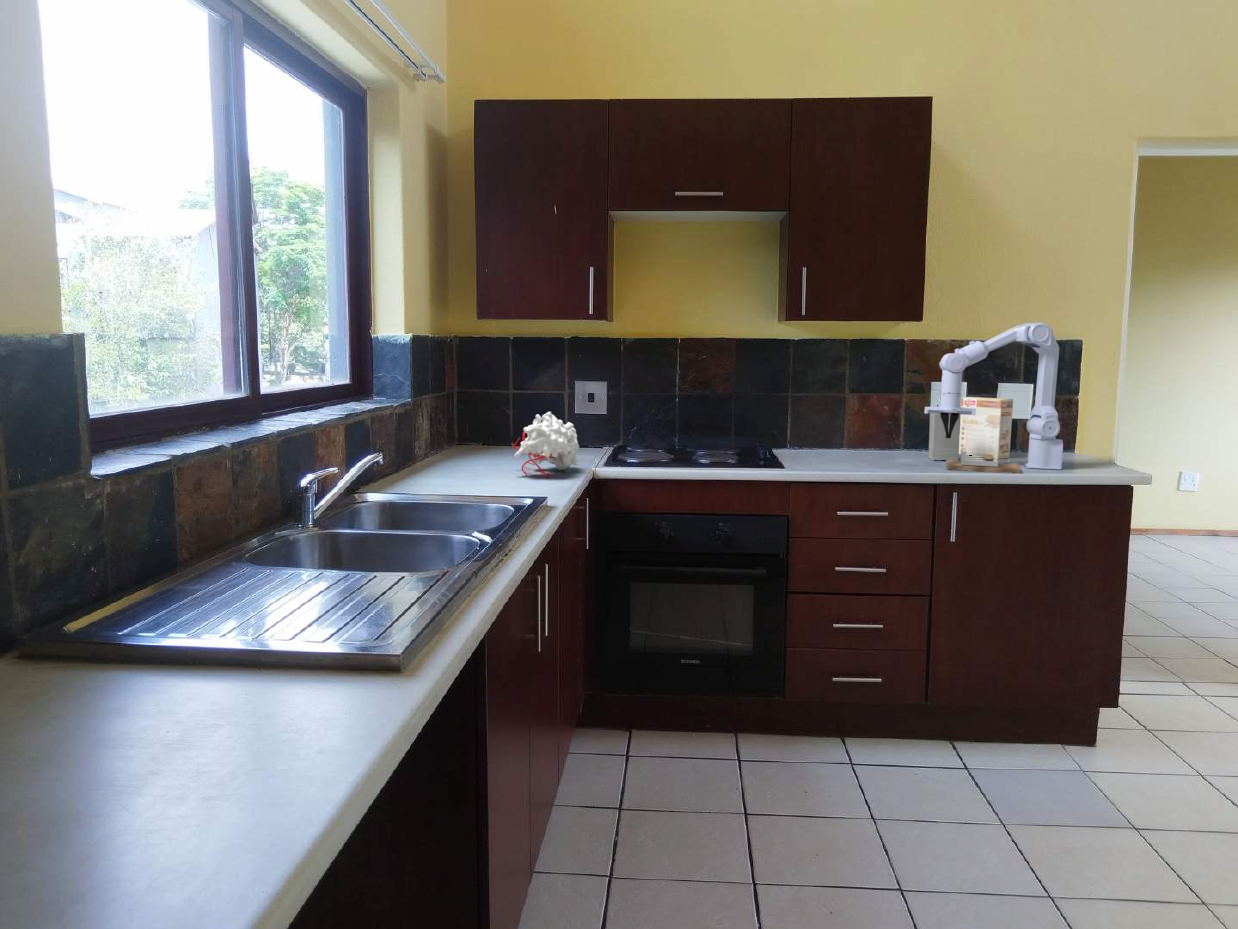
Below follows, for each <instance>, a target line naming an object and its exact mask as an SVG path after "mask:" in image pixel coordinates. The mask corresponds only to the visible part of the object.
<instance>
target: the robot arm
mask: <svg viewBox="0 0 1238 929" xmlns="http://www.w3.org/2000/svg"><path fill="white" fill-rule="evenodd" d="M1013 342H1020V343H1022V344H1024V345H1026V346H1028V347H1030V348H1032V350H1034V352H1036V353H1037V354H1038V364H1037V375H1036V377H1037V378H1036V386H1035V387H1036V388H1035V399H1034V400H1035V401H1034V406H1033V408H1032V409H1031V411H1030V416H1029V419H1028V420H1027V422H1026V430H1027V431H1028V433H1029V438H1028V439H1029V440H1028V452H1027V462H1026V463H1024V465H1025V467H1026V468H1027V469H1040V470H1041V469H1042V470H1043V469H1045V470H1062V466H1063V454H1064V440H1063V439H1059V438H1058V439H1057V436H1058V435H1059V434H1060V431H1061V424H1060V421H1059V413H1058V412H1057V409H1056V407H1055V401H1056V390H1057V380H1058V378H1057V377H1058V368H1059V358H1060V355H1059V354H1060V346H1059V344H1058V342H1057V340H1056V337H1055V335H1054V329H1053V328H1051V327H1050V326H1049V325H1048V324H1046V323H1045V322H1042V321H1039V322H1024V323H1022V324H1020V325H1016V326H1013V327H1011V328H1009V329H1007V330H1005V331H1003V332H1001V333H999V334H998V335H995V336H994V337H992V338H990V339H988V340H985V341H984V342H983V341H980V340H976V341H975V340H971V341H969V342H968V344H967V345H965V346H963V347H960V348H956V349H954V353H953V352H952V353H951V352H950V353H946V354H944V355H943V356H942V357H941V359H940V361H939V363H938V364H939V368H940V370H942V371H941V372H942V373H941V382H940V383H941V384H940V385H941V386H940V403H939V406H925V407H924V414H926V415H927V414H930V413H933V414H940V417H941V419H942V422H943V424H944V428H945V433H946V438H951V434H952V431H953V428H954V426H955V423H956V421H957V420H958V418H959V414H960V415H961V414H963V415H975V414H976V408H961V402H962V385H963V384H962V382H963V380H962V379H963V371H964V370H965V369H966V368H968V367H970V366H972V365H973V364H975V363H978V362H980V361H982V360H984V359H986V358H987V357H988V354H989V352H992V351H995V350H996V349H999V348H1001V347H1004V346H1006V345H1009V344H1011V343H1013ZM943 411H956V412H959V413H955V412H943ZM949 414H950V426H949V433H948V424H949Z"/></svg>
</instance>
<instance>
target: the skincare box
mask: <svg viewBox="0 0 1238 929" xmlns="http://www.w3.org/2000/svg"><path fill="white" fill-rule="evenodd" d="M943 412H955V413H960V412H956V411H943ZM960 418H961V414H959V418H958V420H957V421H956V423H955V426H954V428H953V431H952V434H951V438H946V433H945V428H944V424H943V422H942V419H941V417H940V414H933V413H929V434H928V435H929V436H928V438H929V439H928V459H929V460H931V461H932V460H958V461H959V456H960V454H959V435H960ZM949 426H950V414H949V424H948V433H949Z"/></svg>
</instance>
